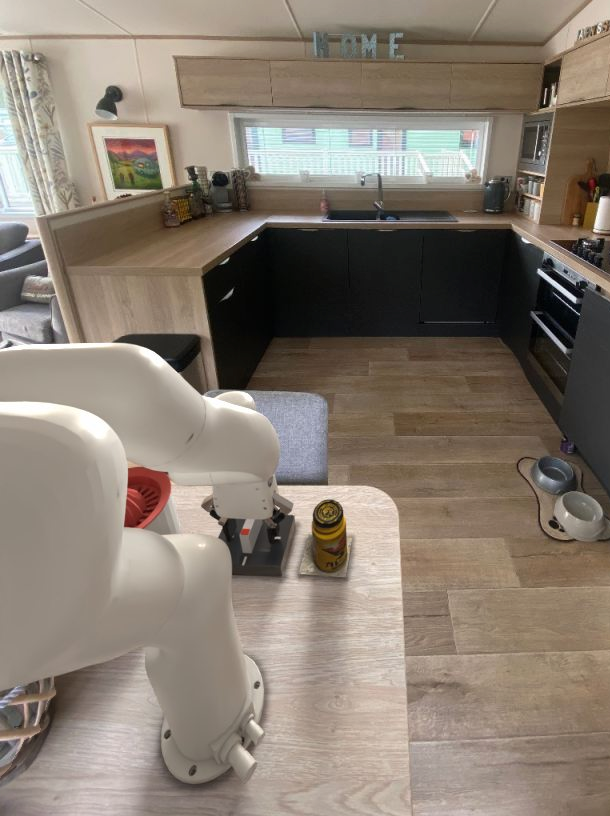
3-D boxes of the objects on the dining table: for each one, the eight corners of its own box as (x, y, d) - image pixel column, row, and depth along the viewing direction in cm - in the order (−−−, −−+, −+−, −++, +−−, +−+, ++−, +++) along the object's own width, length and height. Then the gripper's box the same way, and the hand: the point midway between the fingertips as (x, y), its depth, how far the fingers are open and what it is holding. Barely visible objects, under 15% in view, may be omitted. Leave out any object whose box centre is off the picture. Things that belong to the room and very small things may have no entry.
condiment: (346, 577, 68) (344, 530, 63) (298, 574, 69) (293, 527, 64) (352, 538, 75) (350, 493, 70) (308, 535, 75) (304, 490, 71)
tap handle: (254, 522, 75) (251, 504, 73) (262, 522, 74) (259, 505, 73) (242, 553, 69) (239, 534, 67) (251, 553, 69) (248, 535, 67)
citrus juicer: (54, 605, 64) (10, 520, 56) (152, 519, 78) (127, 441, 70) (115, 655, 58) (74, 567, 50) (208, 551, 72) (188, 471, 64)
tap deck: (295, 524, 77) (294, 513, 76) (282, 577, 68) (280, 566, 67) (231, 522, 78) (229, 511, 77) (208, 575, 68) (205, 563, 67)
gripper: (296, 447, 68) (304, 518, 75) (199, 443, 68) (215, 515, 75) (285, 482, 61) (294, 557, 68) (176, 478, 61) (196, 553, 68)
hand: (252, 534), depth 71 cm, fingers open, 7 cm apart
